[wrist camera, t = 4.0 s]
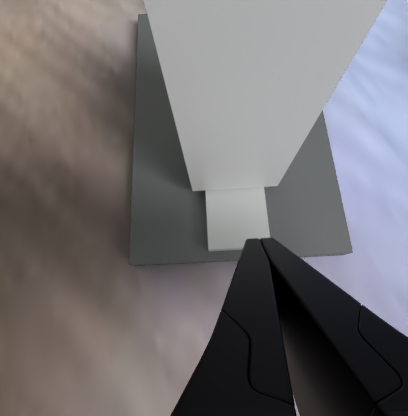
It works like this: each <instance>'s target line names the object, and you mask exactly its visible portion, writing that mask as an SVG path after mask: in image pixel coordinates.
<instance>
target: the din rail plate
mask: <svg viewBox="0 0 408 416" xmlns="http://www.w3.org/2000/svg"><path fill="white" fill-rule="evenodd" d="M269 237H272V238H274V239H276V240H277V241H278V242H280V243H281V244H282V245H284V246H285V247H286V248H288V249H289V250H290V251H292V252H293V253H294V254H296V255H297V256H298V257H315V256H334V255H345V254H349V253H353V251H352V246H351V242H350V237H349V232H348V227H347V223H346V218H345V213H344V209H343V204H342V199H341V195H340V190H339V185H338V180H337V176H336V171H335V166H334V162H333V157H332V152H331V148H330V143H329V138H328V134H327V129H326V124H325V119H324V115H323V110H322V112H321V113H320V115H319V117H318V118H317V120H316V122H315V124H314V125H313V127H312V129H311V130H310V132H309V134H308V135H307V137H306V139H305V140H304V142H303V144H302V146H301V147H300V149H299V151H298V152H297V154H296V156H295V157H294V159H293V161H292V162H291V164H290V166H289V167H288V169H287V171H286V173H285V174H284V176H283V178H282V179H281V181H280V183H279V184H278V186H270V187H254V188H237V189H221V190H204V191H192V187H191V183H190V179H189V175H188V171H187V167H186V163H185V159H184V155H183V152H182V148H181V144H180V140H179V136H178V132H177V128H176V124H175V120H174V116H173V112H172V108H171V105H170V101H169V97H168V93H167V89H166V85H165V81H164V77H163V73H162V69H161V65H160V62H159V58H158V54H157V50H156V46H155V42H154V38H153V34H152V30H151V26H150V22H149V18H148V15H147V14H139V15H138V37H137V63H136V90H135V116H134V142H133V169H132V195H131V222H130V248H129V264H130V265H134V266H141V265H160V264H180V263H199V262H218V261H238V260H239V258H240V255H241V252H242V249H243V247H244V244H245V241H246V239H251V238H258V239H261V238H269Z"/></svg>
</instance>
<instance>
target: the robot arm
mask: <svg viewBox="0 0 408 416" xmlns="http://www.w3.org/2000/svg"><path fill="white" fill-rule="evenodd" d="M292 392H293V393H292ZM293 395H294V398H295V402H296V405H297V408H298V411H299V414H300V416H408V337H407V336H405V335H404V334H402V333H401V332H399V331H398V330H396V329H395V328H394V327H392V326H391V325H389V324H388V323H387V322H385V321H384V320H383V319H381V318H380V317H378V316H377V315H376V314H374V313H373V312H372V311H370V310H369V309H368V308H366V307H365V306H363V305H362V306H361V304H360V303H359V302H358V301H357V300H355V299H354V298H353V297H351V296H350V295H349V294H348V293H346V292H345V291H344V290H342V289H341V288H340V287H338V286H337V285H336V284H334V283H333V282H332V281H330V280H329V279H328V278H326V277H325V276H324V275H322V274H321V273H320V272H318V271H317V270H316V269H314V268H313V267H312V266H310V265H309V264H308V263H306V262H305V261H304V260H302V259H301V258H300V257H298V256H297V255H296V254H294V253H293V252H292V251H290V250H289V249H288V248H286V247H285V246H284V245H282V244H281V243H280V242H278V241H277V240H276V239H274V238H272V237H269V238H261V239H258V238H251V239H246V241H245V244H244V247H243V249H242V252H241V255H240V258H239V261H238V264H237V267H236V269H235V272H234V275H233V278H232V281H231V284H230V287H229V289H228V292H227V295H226V298H225V301H224V304H223V307H222V309H221V312H220V315H219V318H218V320H217V323H216V326H215V328H214V331H213V333H212V336H211V338H210V341H209V343H208V345H207V347H206V349H205V351H204V353H203V355H202V357H201V359H200V361H199V363H198V365H197V367H196V369H195V370H194V372H193V374H192V376H191V378H190V380H189V382H188V384H187V386H186V387H185V389H184V391H183V393H182V395H181V397H180V399H179V401H178V403H177V404H176V406H175V408H174V410H173V412H172V414H171V415H170V416H296V410H295V408H294V406H295V404H294V398H293Z"/></svg>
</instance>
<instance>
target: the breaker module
mask: <svg viewBox="0 0 408 416" xmlns="http://www.w3.org/2000/svg"><path fill="white" fill-rule="evenodd" d="M386 2H387V0H144V3H145V7H146V11H147V15H148V18H149V22H150V26H151V30H152V34H153V38H154V42H155V46H156V50H157V54H158V58H159V62H160V65H161V69H162V73H163V77H164V81H165V85H166V89H167V93H168V97H169V101H170V105H171V108H172V112H173V116H174V120H175V124H176V128H177V132H178V136H179V140H180V144H181V148H182V152H183V155H184V159H185V163H186V167H187V171H188V175H189V179H190V183H191V187H192V191H204V190H221V189H237V188H254V187H270V186H278V184H279V183H280V181H281V179H282V178H283V176H284V174H285V173H286V171H287V169H288V167H289V166H290V164H291V162H292V161H293V159H294V157H295V156H296V154H297V152H298V151H299V149H300V147H301V146H302V144H303V142H304V140H305V139H306V137H307V135H308V134H309V132H310V130H311V129H312V127H313V125H314V124H315V122H316V120H317V118H318V117H319V115H320V113H321V112H322V110H323V108H324V107H325V105H326V103H327V102H328V100H329V98H330V96H331V95H332V93H333V91H334V90H335V88H336V86H337V85H338V83H339V81H340V80H341V78H342V76H343V74H344V73H345V71H346V69H347V68H348V66H349V64H350V63H351V61H352V59H353V58H354V56H355V54H356V52H357V51H358V49H359V47H360V46H361V44H362V42H363V41H364V39H365V37H366V36H367V34H368V32H369V30H370V29H371V27H372V25H373V24H374V22H375V20H376V19H377V17H378V15H379V14H380V12H381V10H382V9H383V7H384V5H385V3H386Z"/></svg>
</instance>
